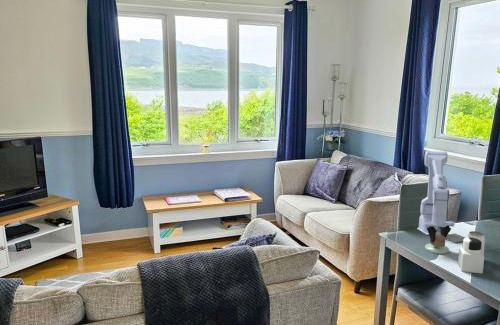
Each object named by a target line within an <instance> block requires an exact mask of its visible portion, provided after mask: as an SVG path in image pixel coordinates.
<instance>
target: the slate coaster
mask: <svg viewBox="0 0 500 325" xmlns="http://www.w3.org/2000/svg"><path fill="white" fill-rule="evenodd" d="M465 238H466V236H465V237H464V236H463V235H460V234H458V233H450V234H449V233H448V235H447V236H446V239H445V240H446V241H449V242H452V243H453V244H460V243H463V239H465Z"/></svg>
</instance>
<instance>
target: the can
mask: <svg viewBox="0 0 500 325" xmlns="http://www.w3.org/2000/svg"><path fill="white" fill-rule="evenodd" d="M469 237H471V238H476V239H478V240H480V241H481V242H482V245H481V252H482V254H483V255H484V253H485V243H486V237H485V233H483V232H480V231H476V230H475V231H474V230H472V231H469V232H468V235H467V238H469ZM484 256H485V255H484Z"/></svg>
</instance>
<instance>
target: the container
mask: <svg viewBox="0 0 500 325" xmlns="http://www.w3.org/2000/svg"><path fill="white" fill-rule="evenodd" d="M481 245H482V242H481V241H480V240H478V239H476V238H471V237H469V238H468V237H465V239H463V242H462V246H459V249H458V260H457V264H458V266H459V268H460V271H462V272H464V273H465V272H466V273H474V274H483V273H484V263H485V262H484V261H485V255H483V254H482V252H481Z"/></svg>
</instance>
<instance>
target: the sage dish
mask: <svg viewBox="0 0 500 325" xmlns="http://www.w3.org/2000/svg"><path fill="white" fill-rule="evenodd" d="M424 250H426V251H427V252H428V253H432V254H437V255H447V254H448V253H449V251H450V248H449V247H448V246H447V245H445V247H435V246H433V245H432V244H430V242H429V243H426V244H425V247H424Z"/></svg>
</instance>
